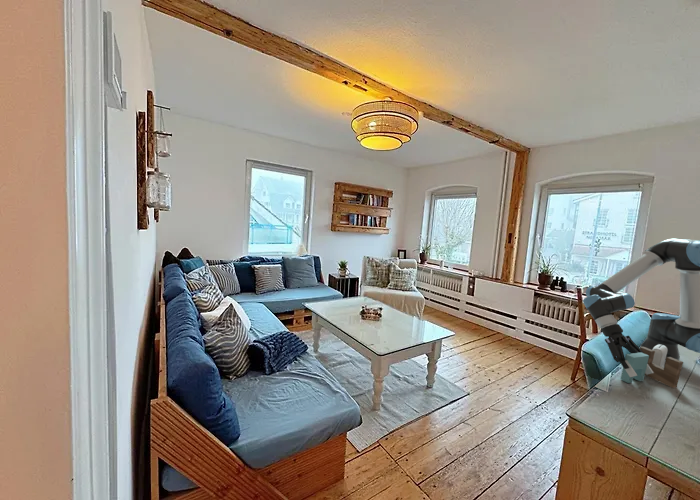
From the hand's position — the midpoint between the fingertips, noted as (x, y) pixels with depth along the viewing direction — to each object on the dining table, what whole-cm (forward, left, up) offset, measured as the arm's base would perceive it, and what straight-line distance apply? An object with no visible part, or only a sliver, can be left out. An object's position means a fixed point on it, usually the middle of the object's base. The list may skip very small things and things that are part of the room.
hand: (642, 375), depth 130 cm
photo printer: (-26, -8, -5) cm, 28 cm away
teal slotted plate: (0, -3, -4) cm, 5 cm away
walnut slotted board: (-14, -2, -4) cm, 15 cm away
